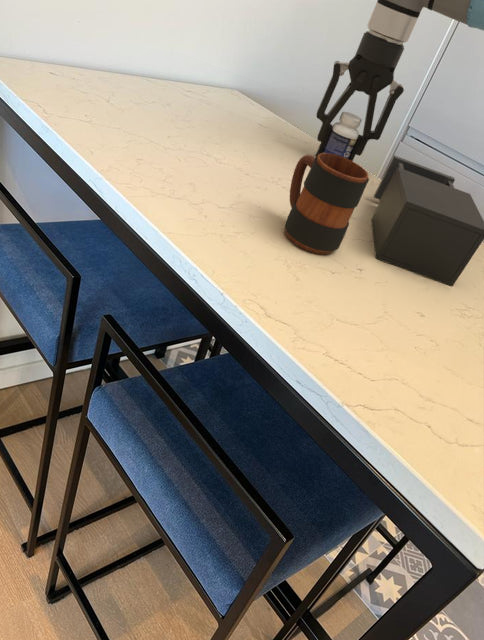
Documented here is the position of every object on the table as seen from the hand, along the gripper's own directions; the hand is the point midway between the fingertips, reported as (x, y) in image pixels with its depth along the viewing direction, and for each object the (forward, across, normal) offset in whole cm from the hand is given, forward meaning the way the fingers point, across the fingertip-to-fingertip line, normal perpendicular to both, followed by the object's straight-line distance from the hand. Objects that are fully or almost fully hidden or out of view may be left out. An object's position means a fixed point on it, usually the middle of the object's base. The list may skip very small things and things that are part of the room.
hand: (331, 163), depth 113 cm
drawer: (0, -14, +15) cm, 21 cm away
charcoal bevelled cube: (+1, -14, +28) cm, 31 cm away
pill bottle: (+1, 0, 0) cm, 1 cm away
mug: (+1, +4, +36) cm, 36 cm away
